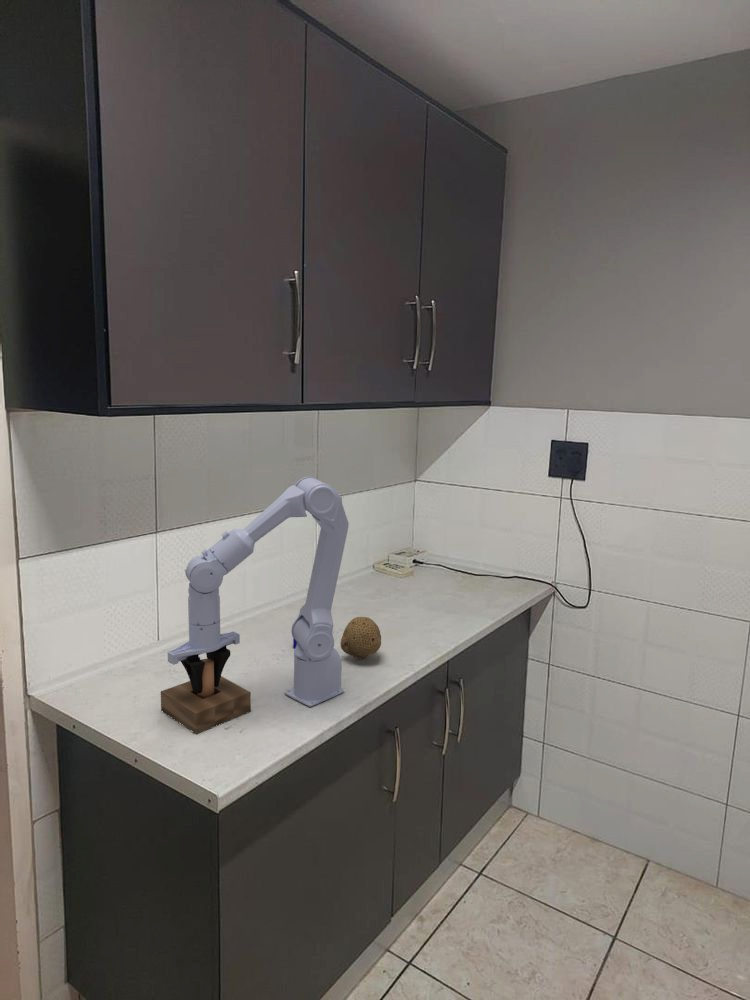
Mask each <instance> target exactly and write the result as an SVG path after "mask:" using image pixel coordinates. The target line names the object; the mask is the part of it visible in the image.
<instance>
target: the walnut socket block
mask: <svg viewBox="0 0 750 1000" xmlns="http://www.w3.org/2000/svg"><path fill="white" fill-rule="evenodd" d="M251 693H252V692H251V691H249V690H247V689H245V687H242V686H240V685H238V684H237V683H235V682H233V681H231V680H229V679H227V678H225V677H224V676H222V675H221V678H220V682H219V686H218V687H214V695H212V696H209V697H207V698H204V699H202V698H200V697H198V696H197V693H196V692H194V691H193V690H192V686H191V682H190V680H189V681H186V682H183V683H181V684H176V685H174V686H171V687H168V688H166V689H164V690H161V691H160V710H161V712H162V711H163V712H162V713H164V714H165V713H166V714H165V715H167V716H168V715H169V716H168V717H170V718H171V717H172V718H171V719H173V720H174V719H175V720H174V721H175V722H177V721H178V722H177V723H179V722H180V723H181V724H180V723H179V724H180V725H182V724H183V725H184V726H183V725H182V726H183V727H185V726H186V727H187V728H186V727H185V728H186V729H188V730H189V729H190V730H189V731H191V730H192V731H193V732H192V731H191V732H192V733H194V732H195V733H196V734H195V733H194V734H195V735H198V734H201V733H203V732H205V731H204V730H206V729H208V730H210V729H212V728H211V727H213V726H215V727H217V726H220V725H222V724H224V722H225V723H227V722H230V721H232V720H234V719H237V718H238V717H241V716H244V715H246V714H248V713H251V712H252V709H251V708H252V705H251V704H252V703H251V701H252V700H251V698H252V697H251ZM243 714H244V715H243ZM221 723H222V724H221ZM219 724H220V725H219ZM216 725H217V726H216ZM209 728H210V729H209ZM213 728H214V727H213ZM202 731H203V732H202ZM206 731H207V730H206ZM200 732H201V733H200ZM197 733H198V734H197Z"/></svg>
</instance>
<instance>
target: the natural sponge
mask: <svg viewBox="0 0 750 1000" xmlns="http://www.w3.org/2000/svg"><path fill="white" fill-rule="evenodd" d="M381 645H382V633H381V630H380V628H379V625H378V624H377V623H376V622H375V621H374V619H371V617H366V616H356V617H354V618H352V619H351V620H349V622H348V623H347V625H346V626H345V628H344V631H343V634H342V636H341V639H340V648H341V650H342V651H343V652H344V653H345V654H348V655H349V656H351V657H353V658H355V659H357V660H364V659H367V657H369V656H372V655H374V654H376V653H377V652H378V651H379V650H380V648H381Z"/></svg>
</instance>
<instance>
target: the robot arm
mask: <svg viewBox="0 0 750 1000" xmlns="http://www.w3.org/2000/svg"><path fill="white" fill-rule="evenodd" d="M306 511H307V512H308V513H309V514H311V516H312V517H313V519H314V520H315V522H316V523H317V525H319V528H320V531H319V535H318V540H317V541H318V542H317V546H316V550H315V551H316V552H315V556H314V559H313V565H312V569H311V575H310V580H309V585H308V589H307V593H306V599H305V602H304V604H303V605H302V606H301V607H300V609H299V613H298V615H297V618H296V619H295V620H294V621H293V623H292V626H291V636H292V638H294V639H295V640H296V641H297V645H296V648H295V649H293V687H292V688H290V689H288V690H285V691H284V695H286V696H288V697H290V699H291V698H292V699H293V700H295V701H297V702H299V703H300V704H303V705H305V706H307V707H309V708H310V707H314V706H316V705H318V704H321V703H322V702H324V701H325V702H326V701H328V700H330V699H331V698H334V697H337V696H338V695H340V694H343V693H344V692H345V690H344V689H343V688H342V670H343V669H342V668H343V667H342V666H343V665H342V658H341V655H340V653H339V652H338V650H337V649H336V648H334V647H335V638H334V636H333V630H334V620H333V615H332V607H333V601H334V598H335V592H336V587H337V582H338V578H339V574H340V568H341V564H342V559H343V555H344V550H345V544H346V541H347V535H348V531H349V524H350V523H349V520H348V516H347V515H346V510H345V508H344V506H343V497H342V496H341V495H340V494H339V493H338V492H337V490H336V489H335V488H334V487H333V486H331V485H330V484H328V483H324V482H323V481H321V480H319V479H318V478H316V477H315V476H304V477H302V478H300V479H298V481H297V482H296V483H295V485H294V484H292V485H291V486H289V487H287V488H286V490H284V492H283V493H282V494H281V495H280V496H279V497H278V498H276V499H275V500H273V502H272V503H271V504H270V505H269V506H267V507H266V508H265V509H264V510H263V511H262V512H261V513H260V514H258V515H257V517H256V518H254V519H253V520H252V521H251V522H250V523H248V525H246V526H245V527H244V528H242V529H240V528H239V529H238V528H233V529H232V530H230V531H228V530H225V531H223V533H222V534H221V536H222V538H220V539H219V540H218V541H216V542H215V543H214V544H213V545H212V546H211V547H210V548H208V549H203V550H202V551H201V555H196V556H194V557H193V558H192V559H190V560H189V562H188V563H187V566H186V569H185V570H184V574H185V576H186V578H187V580H188V581H189V583H188V597H187V605H188V607H187V608H188V641H187V642H185V643H184V644H182V645H180V646H177V647H176V648H174V649H172V650H169V651H167V662H168V663H169V664H172V665H174V666H175V665H177V664H179V662H180V663H181V665H182V666H183V668H184V669H185V671H186V673H187V675H188V679H189V681H190V682H191V686H192V690H193V691H194V692H196V693H198V694H199V693H202V675H203V669H204V665H205V662H204V661H202V660H201V657H199V655H202V654H206V659H212V660H213V661H214V687H218V686H219V682H220V678H221V676H222V674H223V670H224V669H225V667H226V664H227V662H228V660H229V658H230V657H231V650H230V649H229V648H227V647H228V646H231V645H239V644H240V643H241V642H240V641H241V640H240V637H241V636H240V635H241V634H240V633H238V632H236V631H231V632H226V633H221V596H220V587H221V585H222V583H223V580H224V577H225V576H226V575H228V574H229V573H230V572H231V571H233V570H234V569H235V568H237V566H239V565H240V564H241V563H242V562H244V561H245V560H246V559H247V558H249V557H250V555H253V553H254V550H255V544H256V543H257V542H258V541H260V539H262V538H264V536H266V535H268V534H269V533H270V532H272V530H274V529H276V528H277V527H278V526H279V525H281V524H282V523H283V522H285V521H287V519H290V518H306V517H308V514H307V513H306Z"/></svg>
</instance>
